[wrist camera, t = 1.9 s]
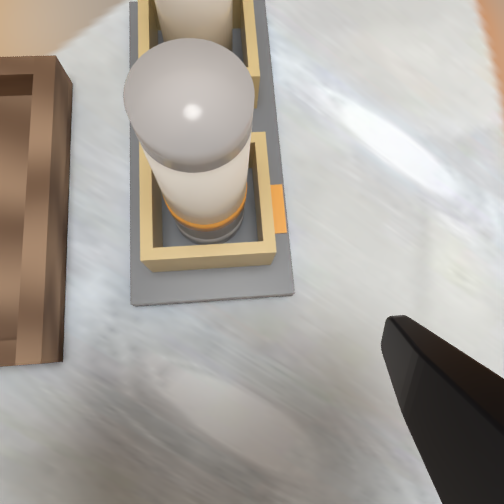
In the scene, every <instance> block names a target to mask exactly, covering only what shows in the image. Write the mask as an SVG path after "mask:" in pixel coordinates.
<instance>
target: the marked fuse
mask: <svg viewBox="0 0 504 504" xmlns="http://www.w3.org/2000/svg"><path fill="white" fill-rule="evenodd" d="M123 98H124V106H125V110H126V113H127V115H128V118H129V120H130V122H131V124H132V126H133V129H134V131H135V133H136V135H137V138H138V140H139V142H140V144H141V147H142V149H143V151H144V153H145V156H146V158H147V160H148V162H149V165H150V167H151V169H152V171H153V174H154V176H155V178H156V180H157V182H158V185H159V187H160V189H161V191H162V194H163V198H164V201H165V203H166V205H167V207H168V210H169V211H170V213H171V215H172V216H173V218H174V221H175V223H176V225H177V227H178V229H179V231H180V232H181V233H182V235H183V236H184V237H185V238H187V239H188V240H189V241H191V242H193V243H195V244H198V245H208V244H222V243H225V242H226V241H228V240H230V239H231V238H232V237H233V236H234V235H235V234H236V233H237V232H238V230H239V229H240V227H241V224H242V221H243V216H244V206H245V202H246V195H247V174H248V163H249V152H250V142H251V131H252V120H253V110H254V99H255V91H254V85H253V81H252V78H251V75H250V73H249V71H248V69H247V68H246V66H245V65H244V63H243V62H242V61H241V60H240V59H239V58H238V57H237V56H236V55H235V54H234V53H233V52H231V51H230V50H228V49H227V48H225V47H223V46H221V45H219V44H217V43H214V42H212V41H208V40H204V39H197V38H181V39H174V40H170V41H167V42H163V43H161V44H159V45H157V46H155V47H153V48H151V49H150V50H148V51H147V52H145V53H144V54H143V55H142V56H141V57H140V58H139V59H138V60H137V61H136V62H135V63H134V65H133V66H132V68H131V69H130V71H129V73H128V75H127V78H126V80H125V85H124V92H123Z"/></svg>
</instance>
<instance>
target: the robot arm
mask: <svg viewBox="0 0 504 504" xmlns="http://www.w3.org/2000/svg"><path fill="white" fill-rule="evenodd" d="M381 350H382V354H383V357H384V360H385V363H386V366H387V369H388V372H389V375H390V379H391V382H392V385H393V388H394V391H395V394H396V397H397V400H398V403H399V406H400V409H401V412H402V414H403V417H404V419H405V422H406V424H407V426H408V428H409V431H410V433H411V435H412V437H413V439H414V442H415V444H416V446H417V448H418V451H419V453H420V455H421V457H422V459H423V462H424V464H425V466H426V468H427V471H428V473H429V475H430V477H431V480H432V482H433V484H434V486H435V488H436V491H437V493H438V495H439V497H440V500H441V502H442V504H504V379H503V378H502V377H500V376H499V375H497V374H496V373H494V372H493V371H491V370H490V369H488V368H487V367H485V366H483V365H482V364H480V363H479V362H477V361H476V360H474V359H473V358H471V357H470V356H468V355H466V354H465V353H463V352H462V351H460V350H459V349H457V348H456V347H454V346H453V345H451V344H449V343H448V342H446V341H445V340H443V339H442V338H440V337H439V336H437V335H436V334H434V333H433V332H431V331H429V330H428V329H426V328H425V327H423V326H422V325H420V324H419V323H417V322H416V321H414V320H412V319H411V318H409V317H408V316H405V315H398V316H389V317H388V318H387V319H386V322H385V326H384V331H383V336H382V341H381Z"/></svg>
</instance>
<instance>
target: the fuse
mask: <svg viewBox="0 0 504 504" xmlns="http://www.w3.org/2000/svg"><path fill="white" fill-rule="evenodd" d="M154 1H155V5H156V10H157V14H158V18H159V23H160V27H161V32H162V36H163V40H164V42H167V41H170V40H174V39H181V38H197V39H204V40H208V41H212V42H214V43H217V44H219V45H221V46H223V47H225V48H227V49H228V50H230V51H231V52H233V24H232V0H154Z"/></svg>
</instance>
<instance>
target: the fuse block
mask: <svg viewBox="0 0 504 504" xmlns="http://www.w3.org/2000/svg"><path fill="white" fill-rule="evenodd" d="M129 10H130V69H131V68H132V66H133V65H134V63H135V62H136V61H137V60H138V59H139V58H140V57H141V56H142V55H143V54H144V53H145V52H147V51H148V50H150V49H151V48H153V47H155V46H157V45H159V44H161V43H163V42H164V40H163V36H162V32H161V27H160V23H159V18H158V14H157V10H156V5H155V1H154V0H138V2H129ZM232 24H233V53H234V54H235V55H236V56H237V57H238V58H239V59H240V60H241V61H242V62H243V63H244V65H245V66H246V68H247V69H248V71H249V73H250V75H251V78H252V81H253V85H254V91H255V99H254V110H253V120H252V131H251V142H250V152H249V163H248V174H247V195H246V202H245V206H244V216H243V221H242V224H241V227H240V229H239V230H238V232H237V233H236V234H235V235H234V236H233V237H232V238H231V239H230V240H228V241H226V242H225V243H222V244H208V245H198V244H195V243H193V242H191V241H189V240H188V239H187V238H185V237H184V236H183V235H182V233H181V232H180V231H179V229H178V227H177V225H176V223H175V221H174V218H173V216H172V215H171V213H170V211H169V210H168V207H167V205H166V203H165V201H164V198H163V194H162V191H161V189H160V187H159V185H158V182H157V180H156V178H155V176H154V174H153V171H152V169H151V167H150V165H149V162H148V160H147V158H146V156H145V153H144V151H143V149H142V147H141V144H140V142H139V140H138V138H137V135H136V133H135V131H134V129H133V126H132V124H131V122H130V285H131V305H133V306H149V305H163V304H177V303H192V302H206V301H220V300H234V299H249V298H263V297H277V296H292V295H293V294H294V293H295V292H294V282H293V272H292V262H291V252H290V243H289V233H288V223H287V213H286V203H285V194H284V184H283V174H282V164H281V154H280V144H279V135H278V125H277V115H276V105H275V95H274V86H273V76H272V66H271V56H270V46H269V37H268V27H267V17H266V7H265V0H232Z"/></svg>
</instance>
